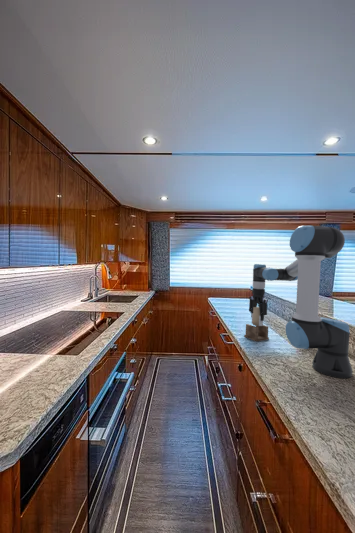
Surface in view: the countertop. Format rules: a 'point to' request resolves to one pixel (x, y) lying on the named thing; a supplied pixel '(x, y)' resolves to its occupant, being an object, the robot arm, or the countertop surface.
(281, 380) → the countertop surface
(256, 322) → the beige rectangular block
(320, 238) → the robot arm
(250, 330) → the holder
